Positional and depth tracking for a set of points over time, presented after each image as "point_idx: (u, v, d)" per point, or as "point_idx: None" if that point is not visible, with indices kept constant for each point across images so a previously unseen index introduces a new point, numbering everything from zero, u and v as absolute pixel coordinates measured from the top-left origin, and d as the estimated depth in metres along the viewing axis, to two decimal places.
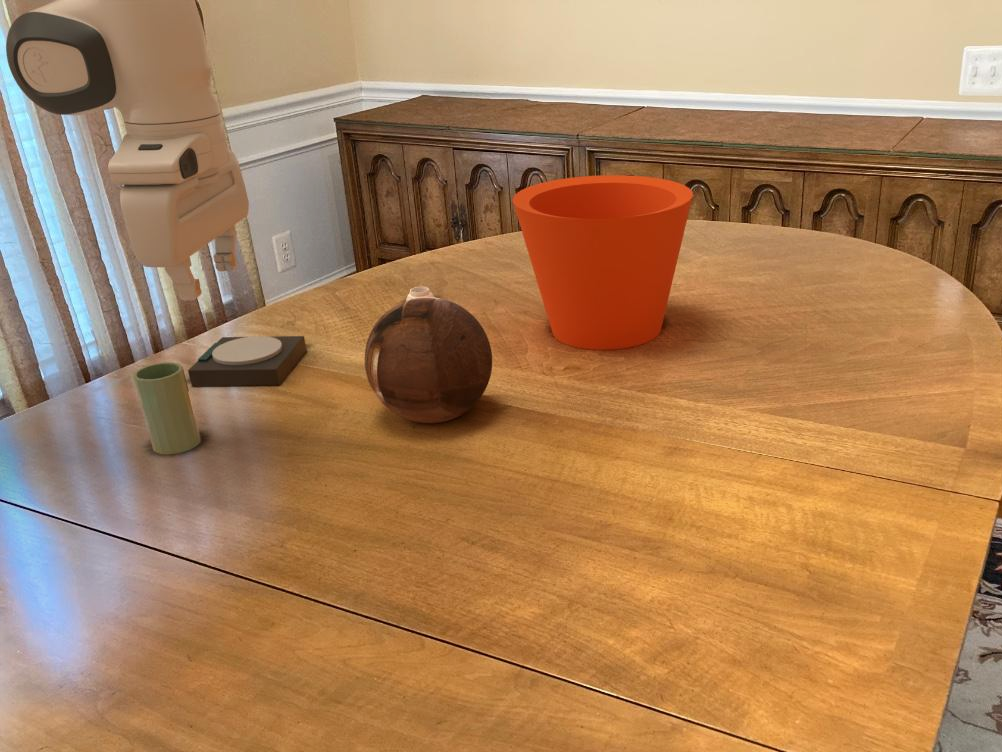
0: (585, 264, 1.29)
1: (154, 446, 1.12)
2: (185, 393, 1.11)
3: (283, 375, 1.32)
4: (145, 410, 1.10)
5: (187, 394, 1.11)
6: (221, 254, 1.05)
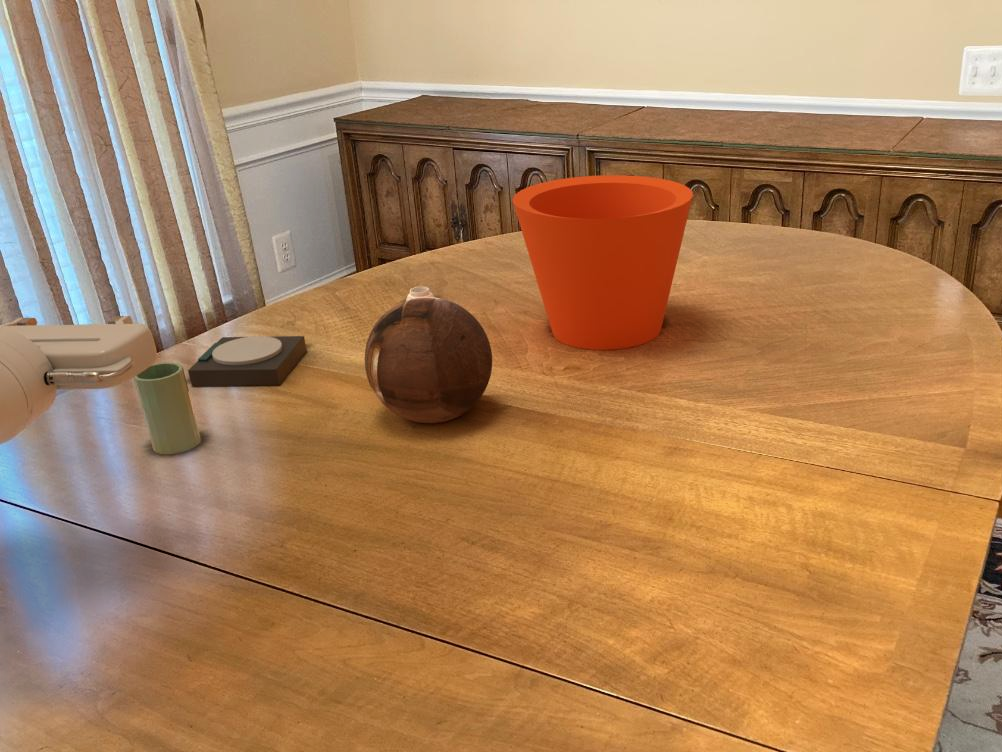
0: (585, 264, 1.29)
1: (154, 446, 1.12)
2: (185, 393, 1.11)
3: (283, 375, 1.32)
4: (145, 410, 1.10)
5: (187, 394, 1.11)
6: None
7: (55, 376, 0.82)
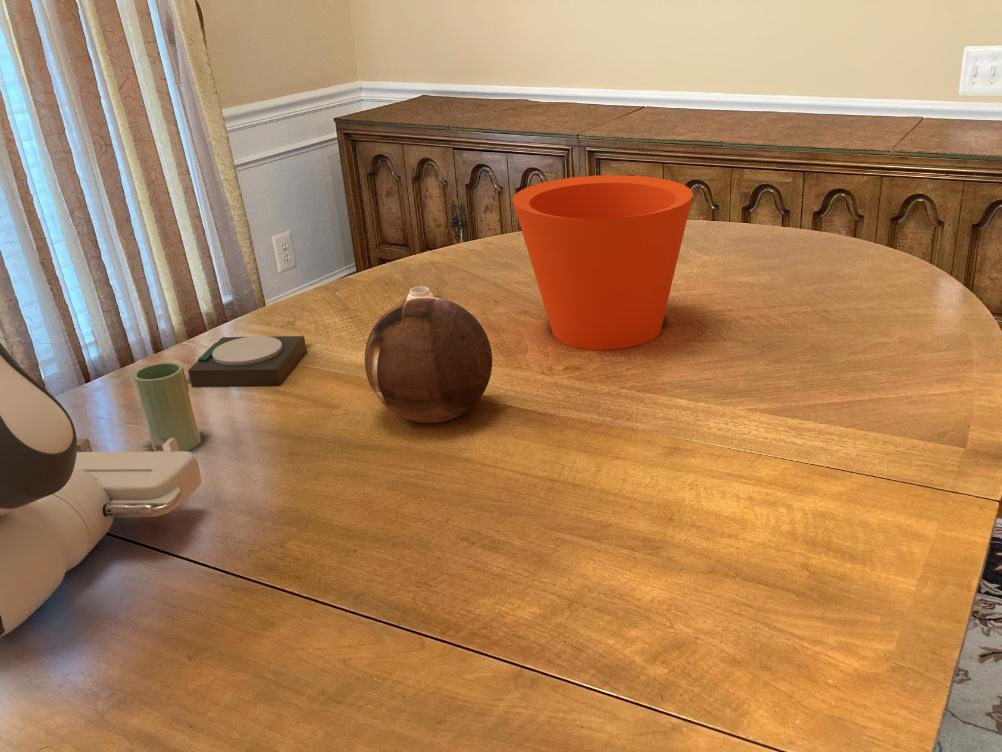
0: (585, 264, 1.29)
1: (154, 446, 1.12)
2: (185, 393, 1.11)
3: (283, 375, 1.32)
4: (145, 410, 1.10)
5: (187, 394, 1.11)
6: (160, 451, 1.02)
7: (113, 509, 0.91)
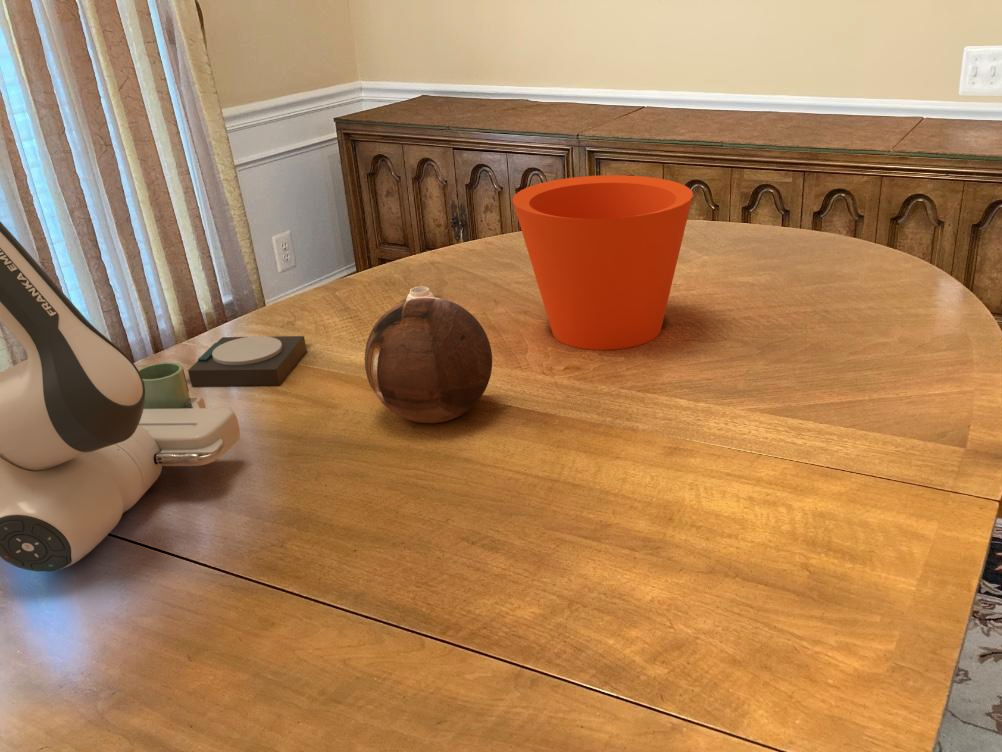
0: (585, 264, 1.29)
1: None
2: (185, 393, 1.11)
3: (283, 375, 1.32)
4: None
5: (187, 394, 1.11)
6: None
7: (163, 457, 1.00)
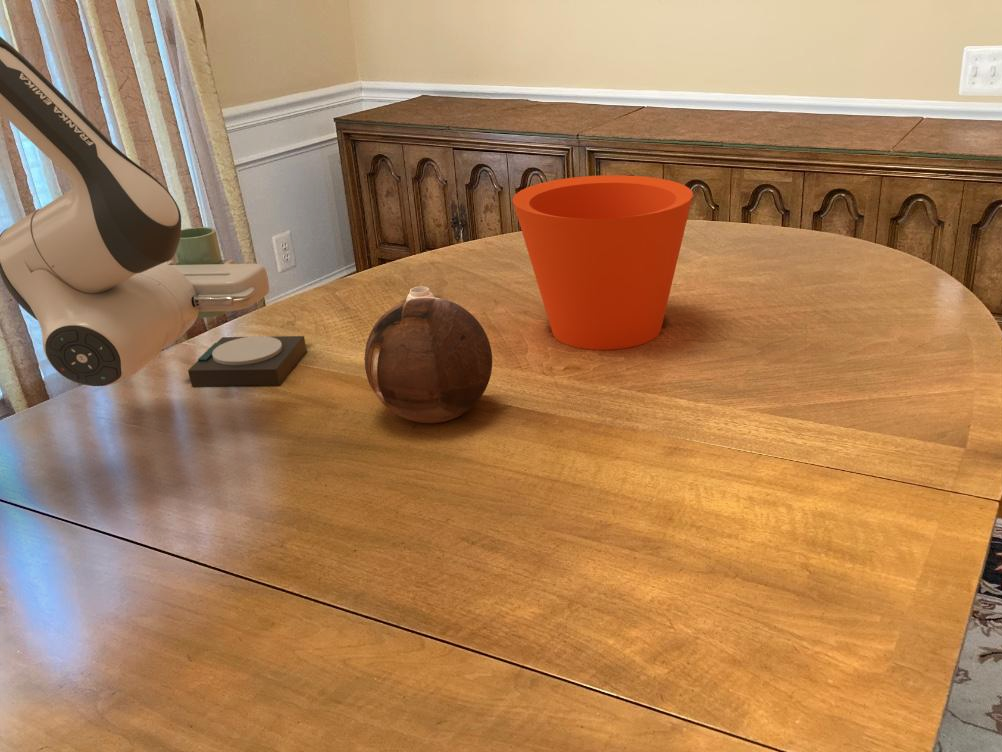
0: (585, 264, 1.29)
1: None
2: (217, 254, 1.20)
3: (283, 375, 1.32)
4: None
5: (219, 256, 1.20)
6: None
7: (200, 299, 1.09)
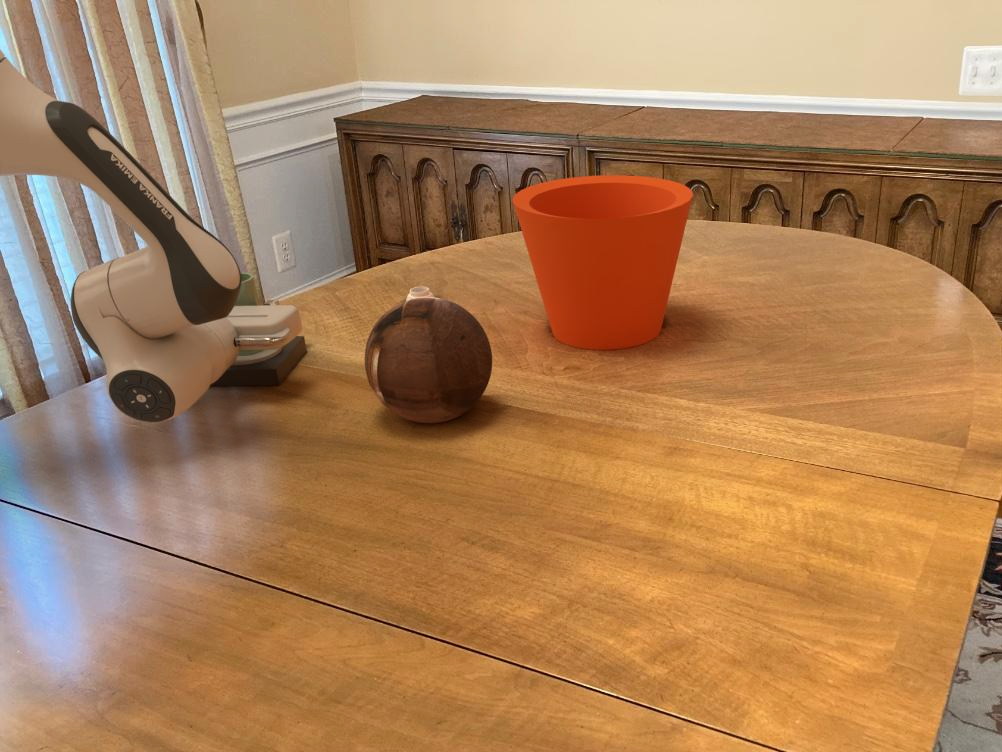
0: (585, 264, 1.29)
1: None
2: (255, 297, 1.31)
3: (283, 375, 1.32)
4: None
5: (257, 299, 1.31)
6: None
7: (241, 340, 1.20)
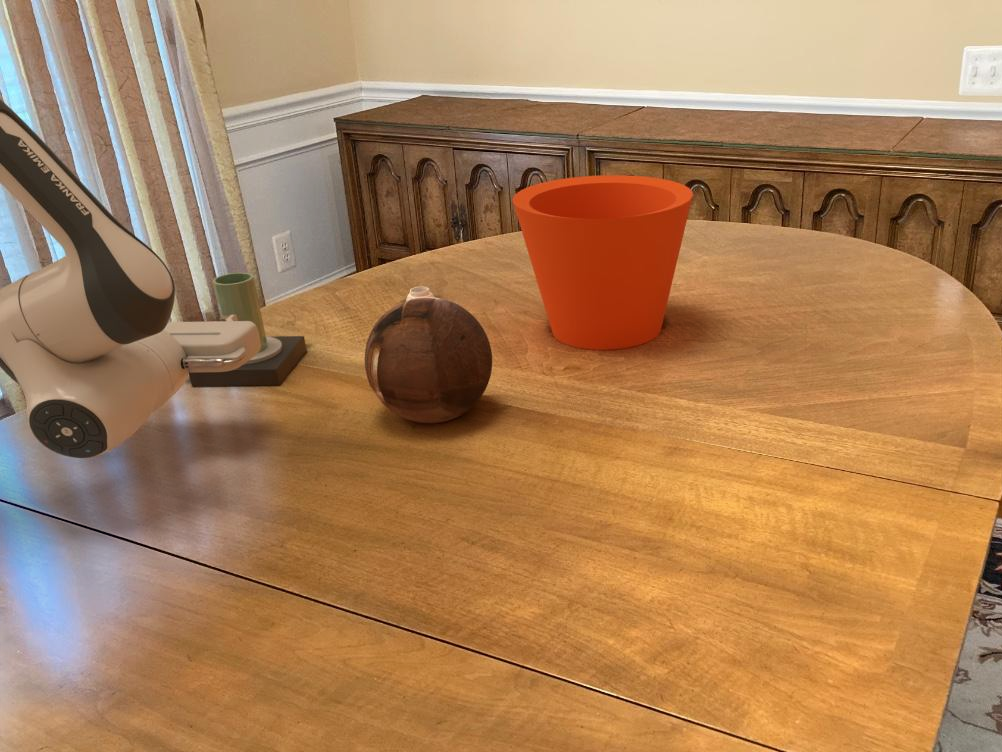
0: (585, 264, 1.29)
1: None
2: (255, 297, 1.31)
3: (283, 375, 1.32)
4: (222, 311, 1.30)
5: (257, 299, 1.31)
6: None
7: (189, 362, 1.06)
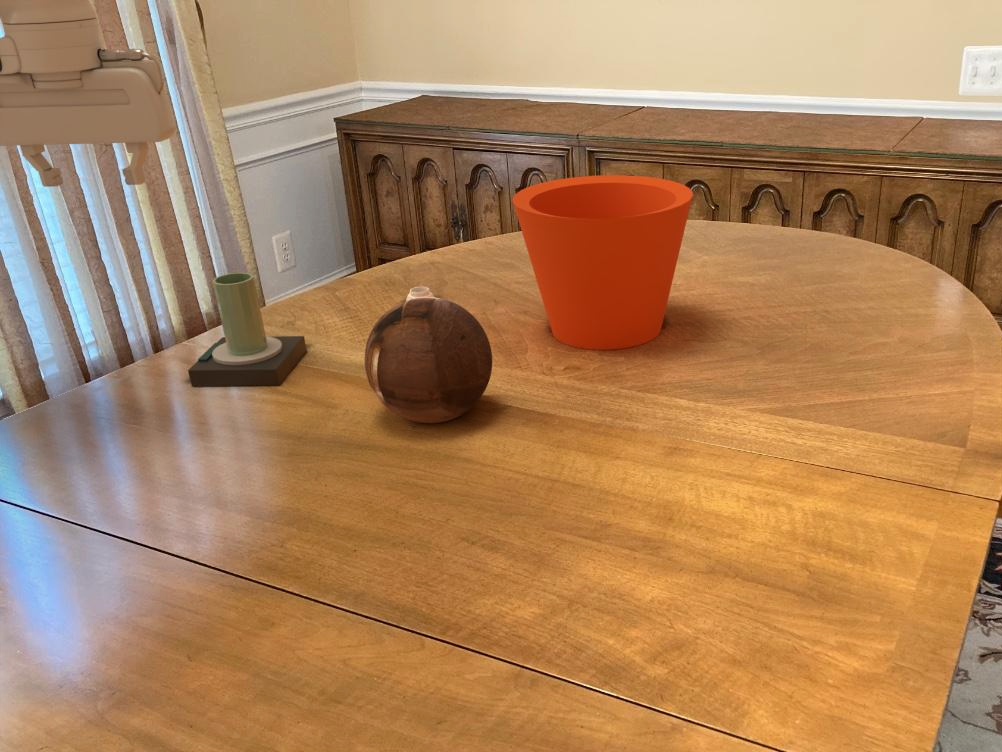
0: (585, 264, 1.29)
1: (228, 344, 1.32)
2: (255, 297, 1.31)
3: (283, 375, 1.32)
4: (222, 311, 1.30)
5: (257, 299, 1.31)
6: (129, 167, 1.07)
7: None
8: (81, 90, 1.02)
